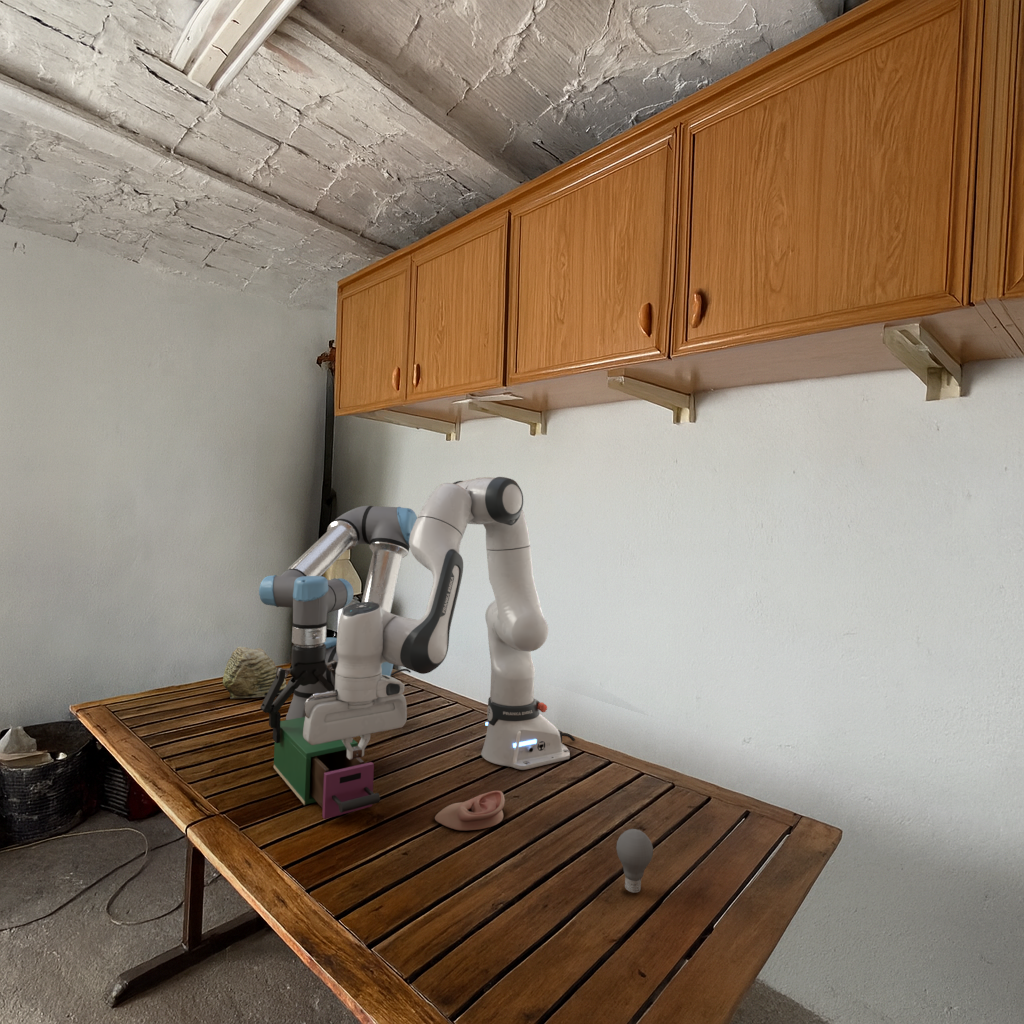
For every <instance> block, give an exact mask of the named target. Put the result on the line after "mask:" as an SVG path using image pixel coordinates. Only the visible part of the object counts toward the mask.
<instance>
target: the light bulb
mask: <svg viewBox="0 0 1024 1024" xmlns="http://www.w3.org/2000/svg"><path fill="white" fill-rule="evenodd" d="M615 849H616V854H617V857H618V859H619V861H620V863H621V865H622V867H623V873H624V874H623V875H624V876H625V878H624V888H625V890H627V891H628V892H630V893H634V894H635V893H639V892H640V891H641V889H642V887H641V886H642V879H643V877H644V875H645V871H646V868H647V867H648V866H649V864H650V863H651V861H652V859H653V855H654V847H653V843H652V841H651V838H649V836H648V835H647V834H646V833H645V832H643V831H642V830H641V829H636V828H629V829H627V830H625V831H623V832H622V833H621V834H620V835H619V837H618V839H617V841H616V847H615Z"/></svg>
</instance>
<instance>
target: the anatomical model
mask: <svg viewBox="0 0 1024 1024" xmlns="http://www.w3.org/2000/svg"><path fill="white" fill-rule="evenodd" d="M505 803H506V800H505V795H504V792H502V791H501V790H492V791H488V792H485V793H481V794H479V795H477V796H474V797H472V798H470V799H468V800H465V801H461V802H455V803H452V804H448V805H446V807H443V808H442V809H441V810H439V811H438V813H436V815H435V816H434V820H435V821H436V822H437V823H439V824H440V825H442V826H445V827H446V828H449V829H452V830H455V831H476V830H483V829H487V828H491V827H494V826H497V825H498V824H500V823H501V822H502V821H503V819H504V811H503V809H504V806H505Z"/></svg>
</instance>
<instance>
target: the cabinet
mask: <svg viewBox="0 0 1024 1024" xmlns="http://www.w3.org/2000/svg"><path fill="white" fill-rule="evenodd" d="M304 721H305V717H302V718H296V719H290V720H286V719H285V720H280V743H276V742H275V741H274V748H273V749H274V750H273V766H272V767H273V770H275V771H276V773H277V774H278V775H279V777H280V778H282V780H283V781H284V782H285V784H286V785H287V786H288V787H289V789H290V790H291V791H292V792H293V793H294V795H295V796H296V797H297V798H298V799H299V800H300V802H301V803H302V804H303V806H306V805H309V804H314V803H317V802H316V801H315V799H314V798H313V797H312V796H311V795H310V794H309V793H310V768H311V757H314V756H319V755H324V754H328V753H333V752H338V751H342V750H347V748H346V747H345V745H344V744H343V742H342V739H341V740H336V741H331V742H326V743H321V744H316V745H311V744H309V743H308V742H307V741H306V740H305V739H304V737H303V727H304ZM358 744H359V742H358V741H356V740H355V739H354V738H353V742H352V743H350V745H351V746H352V747H355V746H358Z"/></svg>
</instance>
